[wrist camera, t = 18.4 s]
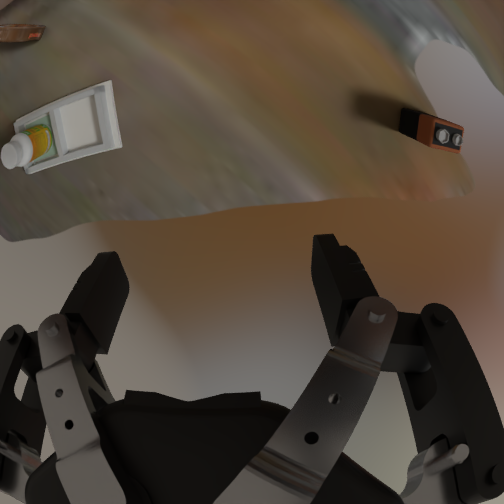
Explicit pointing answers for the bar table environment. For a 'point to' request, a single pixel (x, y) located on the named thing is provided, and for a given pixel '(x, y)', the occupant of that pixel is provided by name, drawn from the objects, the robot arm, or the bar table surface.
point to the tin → (20, 32)
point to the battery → (431, 130)
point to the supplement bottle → (27, 146)
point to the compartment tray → (76, 126)
